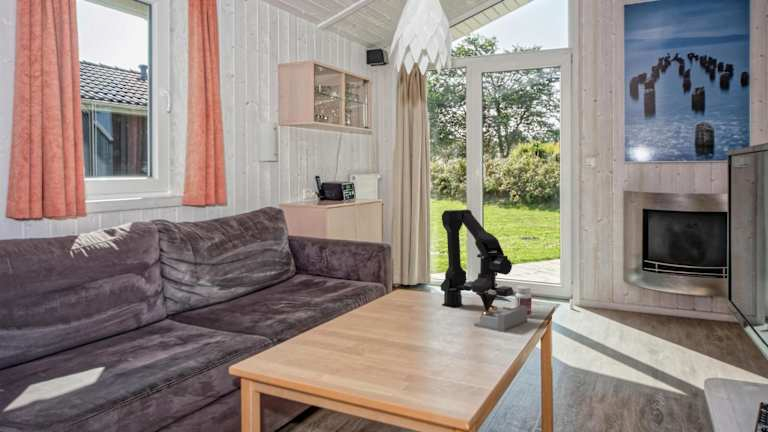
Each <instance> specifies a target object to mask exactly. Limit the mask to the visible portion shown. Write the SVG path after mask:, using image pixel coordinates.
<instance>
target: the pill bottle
mask: <svg viewBox="0 0 768 432" xmlns="http://www.w3.org/2000/svg"><path fill="white" fill-rule="evenodd" d="M515 289H516V293H515V294H514V296H515V297H514V308H515V307H518V306H521V305H523V306H527V318H530V317H531V316H532V299H533V298H532V294H531V293H530V292H531V286H528V285H516V288H515Z"/></svg>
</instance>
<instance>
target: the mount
mask: <svg viewBox="0 0 768 432" xmlns="http://www.w3.org/2000/svg"><path fill="white" fill-rule="evenodd" d="M502 308H503V309H509V310H507V311H505V312H497V311H492V313H498V318H495V317H490V316H485V315H482V314H480V316H479V321H476V322H474V323H473V325H474V327H479V328H482V329H488V330H491V331H498V332H501V333H505V332H508V331H510V330H512V329H514V328H517V327H519V326H521V325H522V326H523V324H527V323H528V317H527V306H523V305H521V306H518V307H515V306H514V307H506V306H503V307H502Z"/></svg>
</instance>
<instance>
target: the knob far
mask: <svg viewBox="0 0 768 432" xmlns="http://www.w3.org/2000/svg"><path fill="white" fill-rule="evenodd" d="M507 310H509V309H503V307H498V306H497V305H493V304H492V305H491V306H490V307H489V311H491V312H492V311H497V312H505V311H507Z"/></svg>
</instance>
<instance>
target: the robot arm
mask: <svg viewBox="0 0 768 432" xmlns="http://www.w3.org/2000/svg"><path fill="white" fill-rule="evenodd" d="M441 223H442V227H443V228H444V230H445V231H446V236H447V237H446V241H447V256H448V257H447V258H448V261H447V262H448V267H447V270H446V272H445V273H444V280H443V281H442V282H441V284H440V291H441V292H444V295H443V296H444V298H443V299H444V300H443V302H444V303H442V304H441V306H445V307H450V308H458V307H461V306H463V305H464V303H462V302H463V299H462V298H463V295H462V291H463V292H464V291H465V292H466V291H467V292H471V291H472V293H475V294H476V295H478V296H479V298H480V299H481V302H482V304H483V307H484V309H485V310H487V311H489V307H490V306H491V305H492V306H493V303H494V301H495V299H496V298H497V296H498V297H503V298H504V297H506V298H507V297H509V296H510V297H511V296H513V295H514V289H513V288H512V286H507V285H505V286H504V285H503V286H499V287H498V283H496V277H498V274H500V275H505V276H506V275H509V274H510V273H511V271H512V269H513V264H512V262H511V261H510V259H508V257H509V256H508V255H505V253H504V250H503V248H502V246H501V244H500V241H499V239H498V238H497V237H496V236H495V235H494V234H492V233H490V232H488V231H486V230H485V229H484V227H483V226H482V224H481V223H479V221H478V220H477V218H476V216H474V215H473V213H472V210H470V209H460V210H459V209H453V210H452V209H450V210H448V209H446V210H444V211H443V213H441ZM463 225H464V226H465V228H466V229H467V231H468V232H469V233H470V234H471V236H473V239H474V240H475V247H476V248H477V249H478V251H479V254H477V255H476V257H477V258H479V259H480V263H479V265H480V269H479V271H480V272H478V275H477V278H476V279H475V280H473V281H472V280H471V281H468V278H467V271H466V270H464V269H463V268H462V263H461V262H462V261H461V246H460V245H461V243H460V230H461V229H462V227H463ZM467 281H468V282H467Z"/></svg>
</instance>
